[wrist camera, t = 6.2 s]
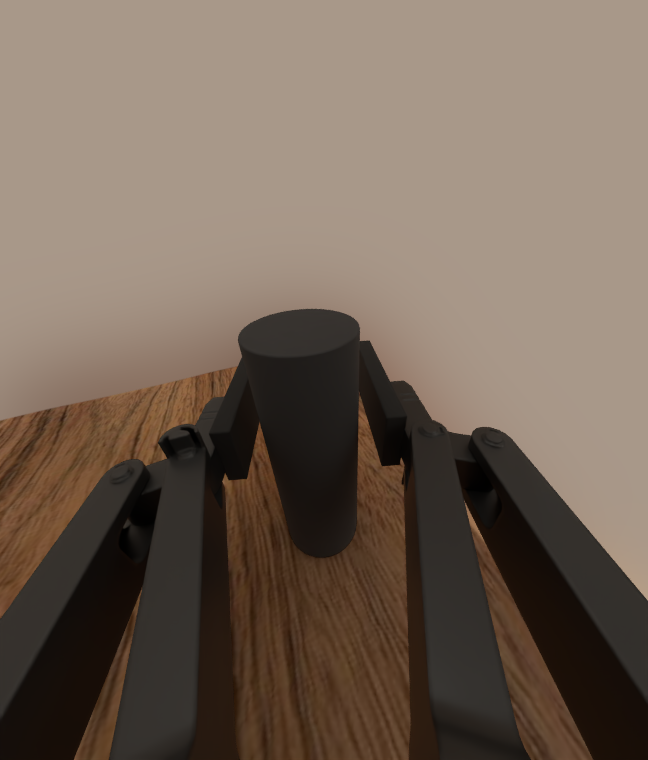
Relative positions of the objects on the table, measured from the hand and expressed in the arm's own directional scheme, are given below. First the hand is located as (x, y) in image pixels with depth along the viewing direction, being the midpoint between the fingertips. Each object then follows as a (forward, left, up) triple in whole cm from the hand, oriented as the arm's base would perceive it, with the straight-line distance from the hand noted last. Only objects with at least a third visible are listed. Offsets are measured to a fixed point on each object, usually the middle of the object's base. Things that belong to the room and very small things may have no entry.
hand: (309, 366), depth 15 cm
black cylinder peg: (-2, +5, -8) cm, 9 cm away
